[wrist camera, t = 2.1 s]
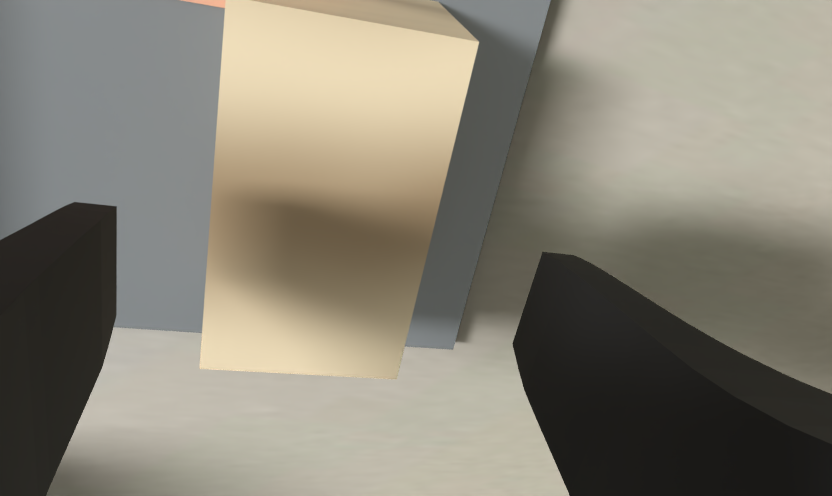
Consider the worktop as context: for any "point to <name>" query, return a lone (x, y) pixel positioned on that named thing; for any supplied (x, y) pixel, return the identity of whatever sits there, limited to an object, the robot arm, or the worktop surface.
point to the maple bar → (327, 180)
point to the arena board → (211, 142)
